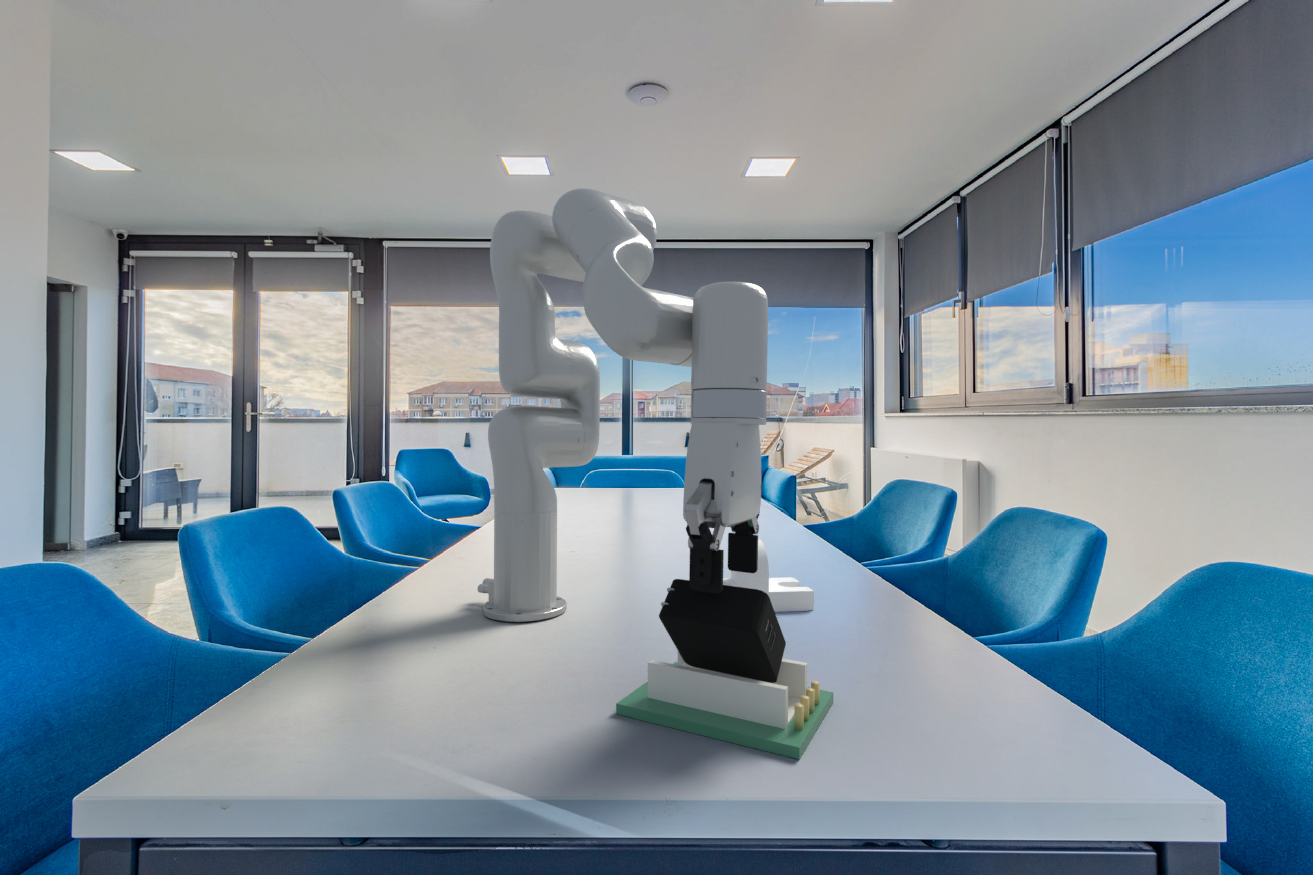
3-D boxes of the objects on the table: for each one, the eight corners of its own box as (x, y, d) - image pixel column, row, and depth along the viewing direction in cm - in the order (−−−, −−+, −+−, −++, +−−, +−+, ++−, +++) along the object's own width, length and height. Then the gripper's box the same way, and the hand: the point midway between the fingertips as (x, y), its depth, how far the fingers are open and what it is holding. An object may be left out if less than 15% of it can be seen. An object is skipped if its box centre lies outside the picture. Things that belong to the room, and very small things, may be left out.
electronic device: (778, 685, 60) (755, 629, 54) (686, 666, 65) (655, 613, 59) (787, 646, 63) (767, 589, 57) (698, 631, 68) (670, 576, 62)
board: (616, 713, 60) (616, 667, 60) (675, 670, 72) (675, 631, 72) (799, 759, 52) (799, 705, 52) (833, 701, 63) (833, 657, 63)
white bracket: (792, 599, 106) (793, 534, 106) (813, 614, 96) (814, 543, 96) (688, 601, 104) (689, 535, 104) (699, 617, 94) (699, 545, 94)
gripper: (725, 413, 71) (722, 561, 71) (654, 406, 56) (651, 594, 56) (789, 413, 68) (786, 569, 68) (732, 405, 53) (728, 606, 53)
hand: (725, 580), depth 62 cm, fingers open, 9 cm apart
